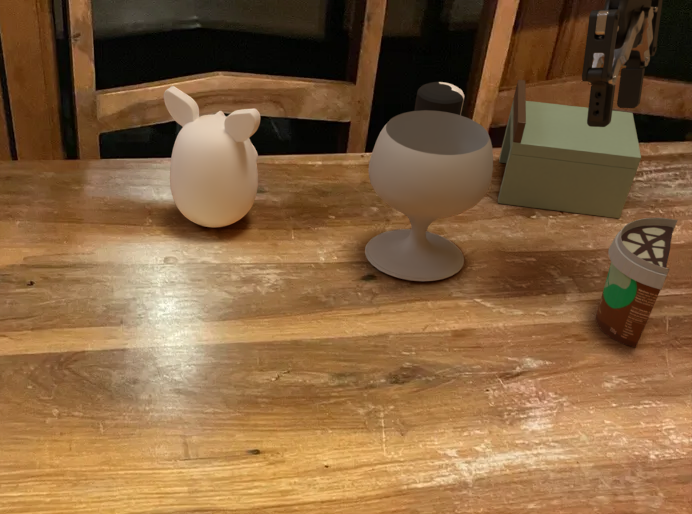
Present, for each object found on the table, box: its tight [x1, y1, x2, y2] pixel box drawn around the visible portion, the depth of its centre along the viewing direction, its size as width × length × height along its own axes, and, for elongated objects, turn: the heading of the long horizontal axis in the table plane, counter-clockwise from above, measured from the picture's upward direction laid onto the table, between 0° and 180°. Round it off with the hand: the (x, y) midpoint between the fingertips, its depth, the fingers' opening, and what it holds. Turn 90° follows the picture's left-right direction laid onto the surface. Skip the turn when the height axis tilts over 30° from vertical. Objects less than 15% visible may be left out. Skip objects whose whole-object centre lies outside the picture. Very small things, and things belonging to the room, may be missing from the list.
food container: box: [595, 217, 678, 348], centre depth 103 cm, size 12×6×10 cm, turn 159°
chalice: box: [364, 110, 494, 282], centre depth 109 cm, size 14×14×15 cm
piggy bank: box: [163, 85, 261, 228], centre depth 114 cm, size 12×12×15 cm
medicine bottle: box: [413, 81, 465, 116], centre depth 124 cm, size 7×7×12 cm
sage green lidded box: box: [497, 79, 642, 219], centre depth 124 cm, size 16×14×10 cm
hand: (613, 116), depth 98 cm, fingers open, 8 cm apart
